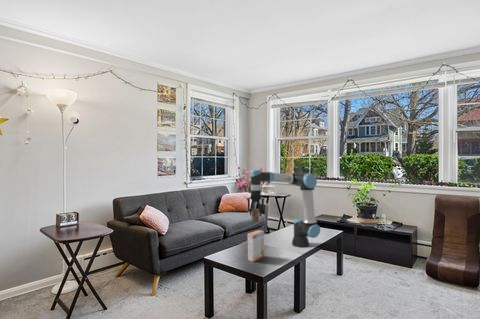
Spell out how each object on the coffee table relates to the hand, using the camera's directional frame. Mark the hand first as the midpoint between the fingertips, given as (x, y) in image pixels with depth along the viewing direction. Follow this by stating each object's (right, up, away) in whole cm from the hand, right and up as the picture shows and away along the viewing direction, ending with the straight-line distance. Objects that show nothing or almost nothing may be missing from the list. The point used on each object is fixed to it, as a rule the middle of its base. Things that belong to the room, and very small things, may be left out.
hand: (255, 219), depth 227 cm
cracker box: (0, -31, +1) cm, 31 cm away
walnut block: (0, -1, 0) cm, 1 cm away
